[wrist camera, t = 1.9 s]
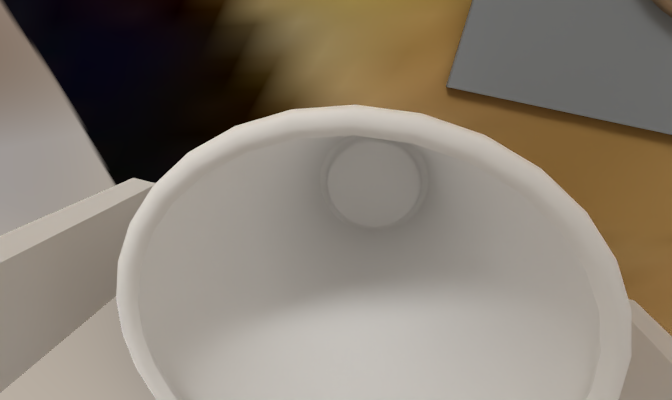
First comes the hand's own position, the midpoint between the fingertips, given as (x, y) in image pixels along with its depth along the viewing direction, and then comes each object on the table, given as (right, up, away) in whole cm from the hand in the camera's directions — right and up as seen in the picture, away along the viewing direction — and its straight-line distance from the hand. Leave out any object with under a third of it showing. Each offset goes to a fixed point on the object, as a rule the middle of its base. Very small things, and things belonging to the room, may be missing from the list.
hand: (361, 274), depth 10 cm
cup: (+1, +3, +7) cm, 8 cm away
